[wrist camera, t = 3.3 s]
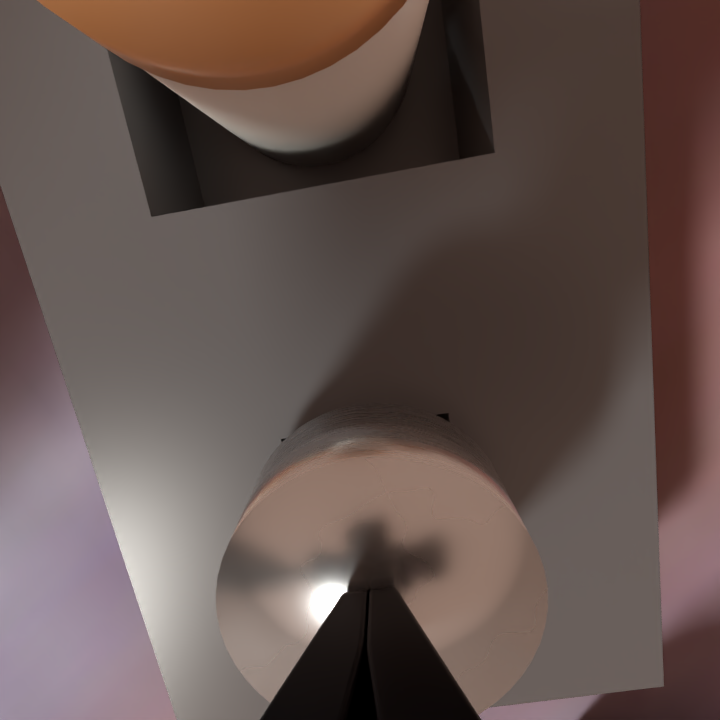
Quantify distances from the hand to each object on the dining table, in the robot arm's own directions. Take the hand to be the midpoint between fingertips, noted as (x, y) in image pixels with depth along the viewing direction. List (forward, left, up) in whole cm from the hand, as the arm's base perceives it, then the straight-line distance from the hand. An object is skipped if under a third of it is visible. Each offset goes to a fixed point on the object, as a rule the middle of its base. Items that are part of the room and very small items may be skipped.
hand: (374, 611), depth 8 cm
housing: (0, +5, -7) cm, 9 cm away
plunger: (0, 0, -7) cm, 7 cm away
